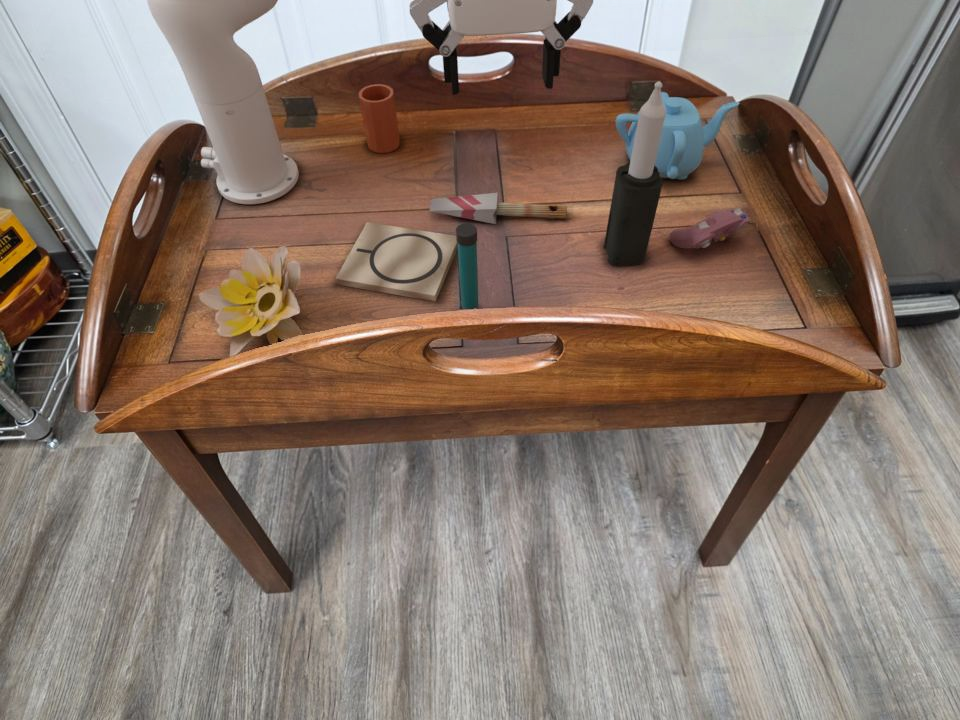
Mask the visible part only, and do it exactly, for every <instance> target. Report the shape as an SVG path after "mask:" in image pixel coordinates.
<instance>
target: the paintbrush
mask: <svg viewBox="0 0 960 720" xmlns="http://www.w3.org/2000/svg"><path fill="white" fill-rule="evenodd" d="M429 212H433V213H438V214H443V215H447V216H453V217H457V218H463V219H468V220H472V221H478V222H483V223H487V224H492V225H497V216H509V217H525V218H527V217H528V218H531V217H532V218H543V219H546V218H548V219H552V218H553V219H561V220H562V219H567V216H568V215H567V214H568V207H567V205H551V204H531V203H519V202H518V203H516V202H503V201H502V202H501V201H500V202H499V201H498V192H491V193H478V194H470V195H457V196H447V197H440V198H431V199H430V205H429Z"/></svg>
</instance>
